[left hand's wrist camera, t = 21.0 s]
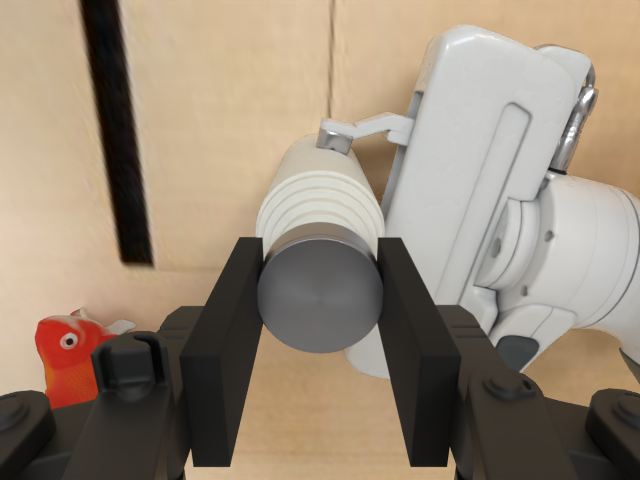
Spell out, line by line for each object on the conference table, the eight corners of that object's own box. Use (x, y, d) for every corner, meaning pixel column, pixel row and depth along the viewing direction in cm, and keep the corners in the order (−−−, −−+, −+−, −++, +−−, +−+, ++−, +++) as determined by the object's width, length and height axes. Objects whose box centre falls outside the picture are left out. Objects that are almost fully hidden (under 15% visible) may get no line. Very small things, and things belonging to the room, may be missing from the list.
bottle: (368, 198, 31) (425, 336, 14) (295, 220, 32) (267, 378, 15) (346, 122, 29) (382, 179, 12) (269, 147, 30) (205, 234, 13)
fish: (198, 311, 29) (85, 458, 22) (219, 410, 40) (148, 528, 33) (69, 257, 31) (-67, 375, 24) (123, 365, 42) (39, 466, 36)
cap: (302, 344, 15) (300, 372, 14) (239, 258, 14) (229, 279, 13) (398, 293, 15) (407, 317, 13) (340, 198, 14) (342, 213, 12)
